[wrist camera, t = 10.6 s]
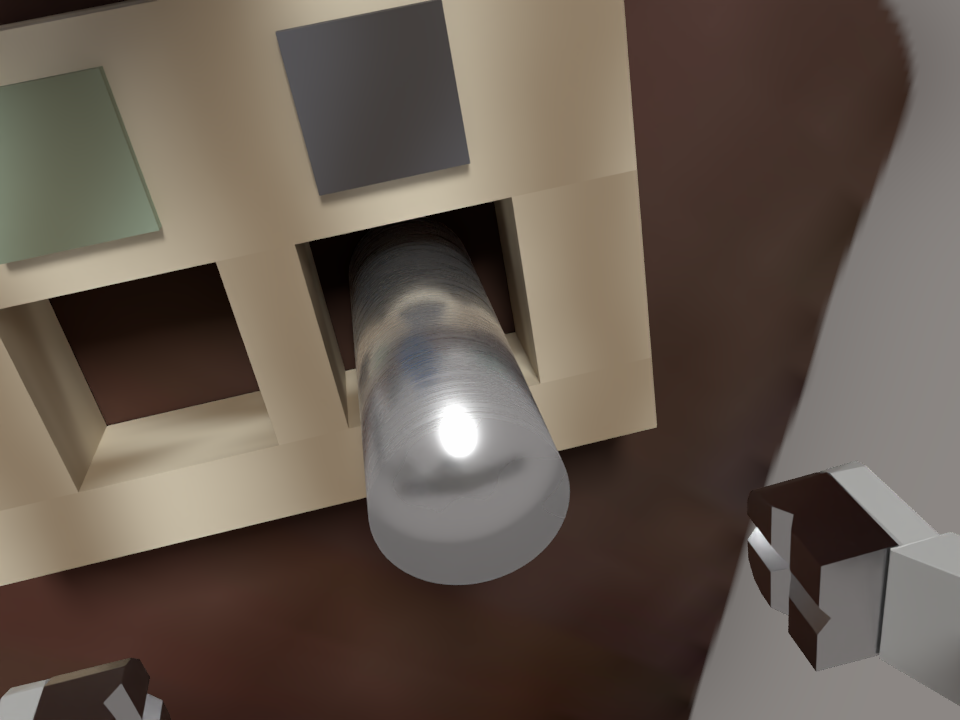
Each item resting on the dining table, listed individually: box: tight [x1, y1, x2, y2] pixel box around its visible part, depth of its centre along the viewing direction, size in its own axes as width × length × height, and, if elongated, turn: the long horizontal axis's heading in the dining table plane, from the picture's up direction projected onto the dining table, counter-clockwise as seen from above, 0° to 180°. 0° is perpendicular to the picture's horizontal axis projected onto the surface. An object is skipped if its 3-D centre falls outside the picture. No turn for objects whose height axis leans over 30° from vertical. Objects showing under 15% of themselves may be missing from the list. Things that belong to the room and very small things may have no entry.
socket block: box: [0, 0, 657, 586], centre depth 19 cm, size 17×12×3 cm
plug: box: [348, 217, 570, 585], centre depth 17 cm, size 3×3×10 cm
